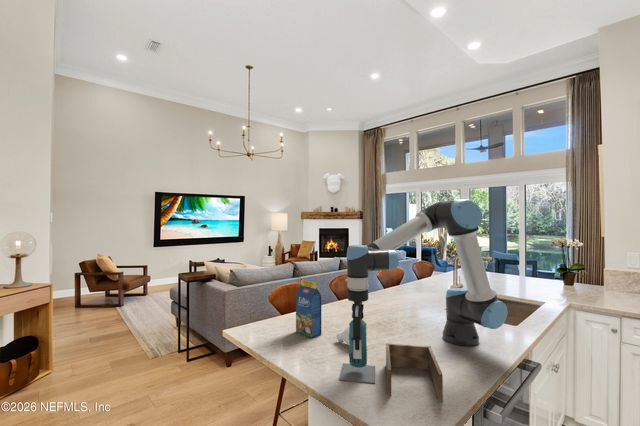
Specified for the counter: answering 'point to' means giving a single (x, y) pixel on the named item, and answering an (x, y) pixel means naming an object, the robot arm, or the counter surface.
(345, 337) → the white crumpled lump
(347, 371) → the mat
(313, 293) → the blue food package
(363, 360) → the beverage bottle
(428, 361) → the wooden u-frame
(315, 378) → the counter surface
